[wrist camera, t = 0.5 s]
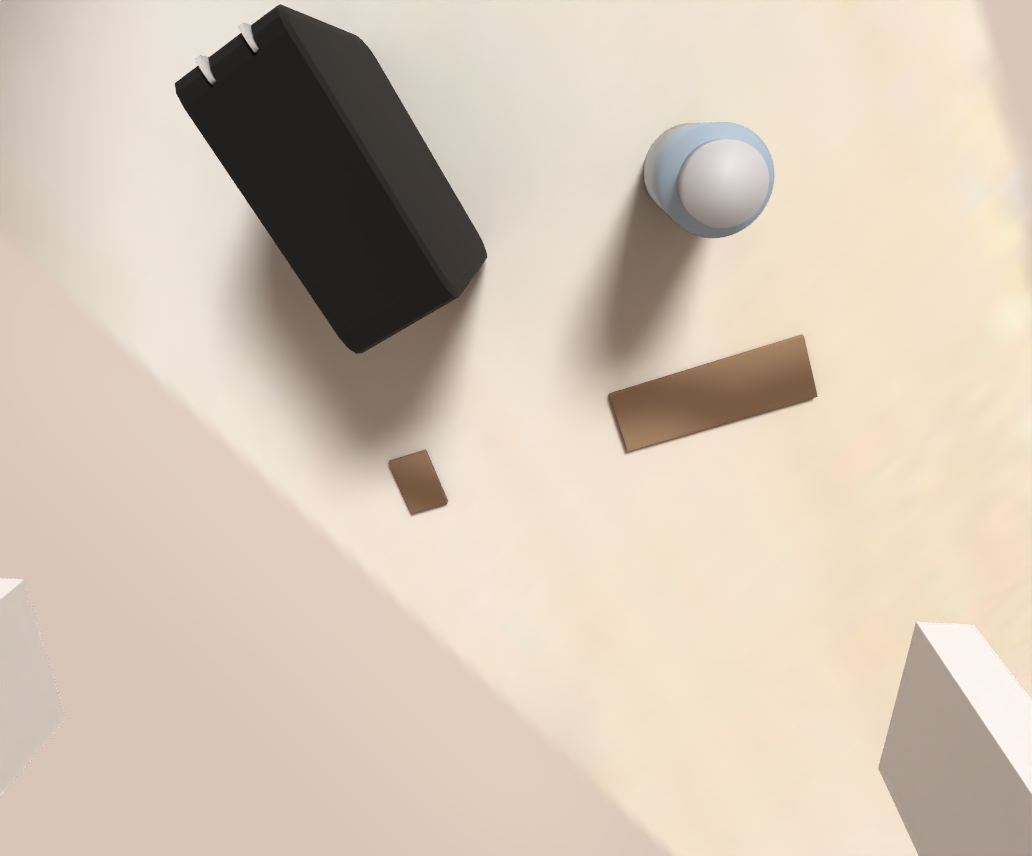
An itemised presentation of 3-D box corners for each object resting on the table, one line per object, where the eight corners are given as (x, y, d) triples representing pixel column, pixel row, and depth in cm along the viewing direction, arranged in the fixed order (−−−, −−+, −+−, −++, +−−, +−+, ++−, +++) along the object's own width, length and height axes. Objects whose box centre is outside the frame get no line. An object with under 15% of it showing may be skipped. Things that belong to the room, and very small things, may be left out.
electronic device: (414, 298, 34) (352, 362, 25) (285, 94, 31) (161, 80, 22) (491, 253, 33) (456, 301, 24) (365, 36, 30) (270, -3, 21)
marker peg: (633, 142, 31) (652, 147, 23) (718, 110, 30) (771, 103, 22) (656, 225, 32) (684, 259, 24) (739, 197, 31) (797, 222, 23)
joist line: (389, 460, 37) (388, 463, 37) (801, 334, 33) (803, 336, 33) (412, 511, 38) (411, 513, 38) (815, 394, 34) (817, 396, 34)
